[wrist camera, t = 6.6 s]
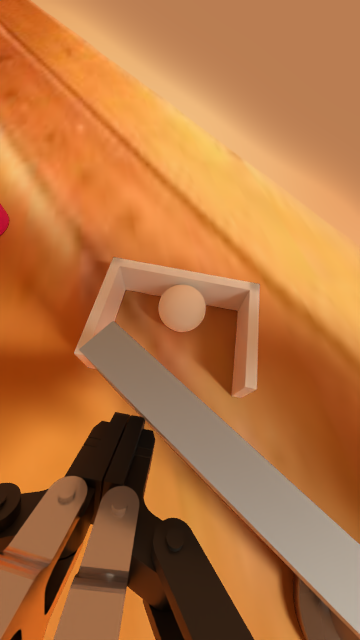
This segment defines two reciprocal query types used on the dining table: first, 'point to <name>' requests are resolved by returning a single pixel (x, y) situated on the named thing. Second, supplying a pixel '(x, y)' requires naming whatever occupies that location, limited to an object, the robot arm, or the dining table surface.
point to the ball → (182, 308)
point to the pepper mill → (3, 220)
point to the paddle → (237, 475)
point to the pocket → (214, 294)
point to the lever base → (312, 613)
